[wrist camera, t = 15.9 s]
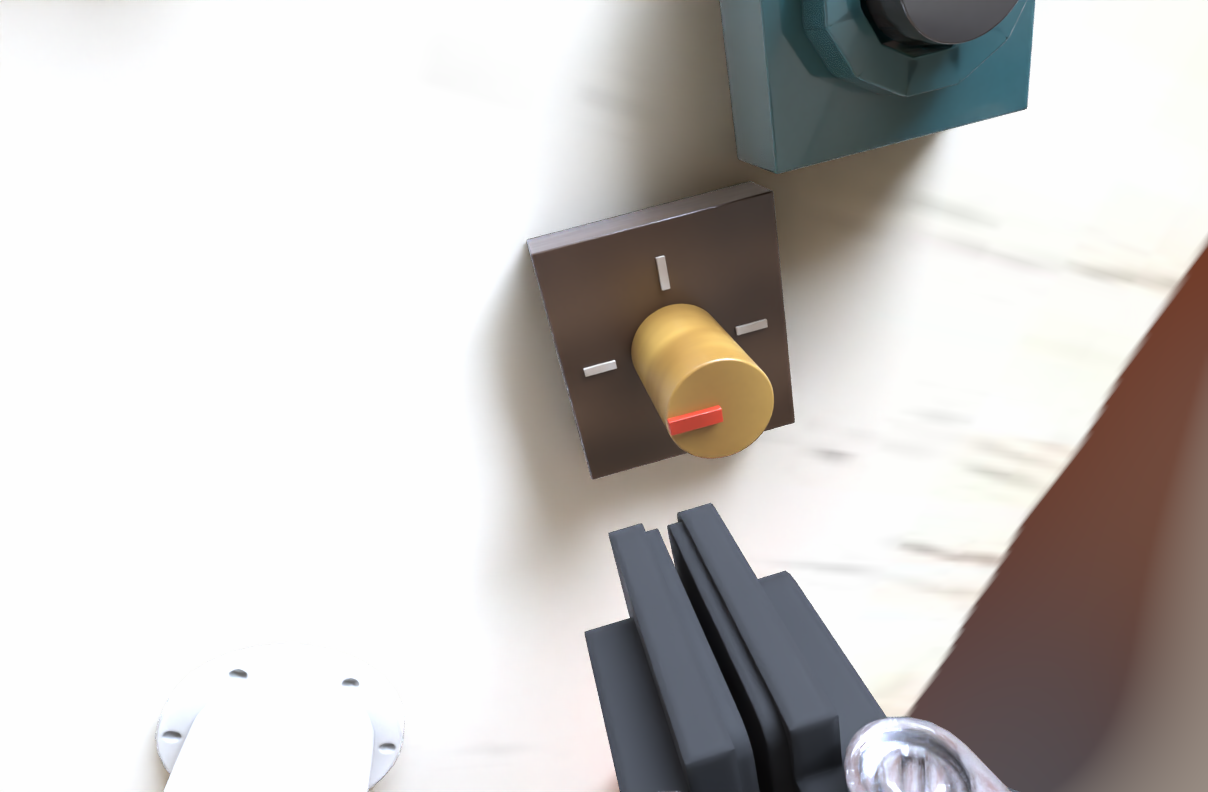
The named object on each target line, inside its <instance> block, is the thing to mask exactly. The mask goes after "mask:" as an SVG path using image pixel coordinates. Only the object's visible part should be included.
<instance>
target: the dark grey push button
mask: <svg viewBox="0 0 1208 792" xmlns="http://www.w3.org/2000/svg"><path fill="white" fill-rule="evenodd" d="M865 1H866V5H867V8H868V11H869V13H870V15H871V17H872V19H873V21H874V22H875V24H876V25H877V27H878V28H879V29H880V30H881V31H882V32H883V33H884V34H885V35H886V36H888V37H889V38H891V39H892V40H894V41H896V42H899V43H902V44H906V45H945V44H960V43H965V42H968V41H971V40H974V39H976V38H978V37H980V36H982V35H984V34H985V33H987V32H989V31H990V30H992V29H993V28H994V27H995V26H996V25H998V24H999V23H1000V22H1001V21H1002V20H1003V19H1004V18H1005V17H1006V16H1007V15H1008V14H1009V12H1010V11H1011V10H1012V9H1013V7H1014V6H1015V5H1016V3H1017V2H1018V0H865Z"/></svg>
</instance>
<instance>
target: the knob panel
mask: <svg viewBox="0 0 1208 792" xmlns="http://www.w3.org/2000/svg"><path fill="white" fill-rule="evenodd" d="M527 245H528V249H529V252H530V256H531V260H532V264H533V267H534V271H535V275H536V278H537V282H538V286H539V289H540V293H541V297H542V300H543V304H544V308H545V311H546V315H547V319H548V322H549V326H550V330H551V333H552V337H553V341H554V344H555V348H556V352H557V355H558V359H559V363H560V366H561V370H562V374H563V377H564V381H565V385H566V388H567V392H568V396H569V399H570V403H571V407H572V410H573V414H574V418H575V421H576V425H577V429H578V432H579V436H580V440H581V443H582V447H583V451H584V454H585V458H586V461H587V465H588V468H589V472H590V475H591V478H592V479H597V478H600V477H604V476H607V475H611V474H614V473H618V472H621V471H625V470H628V469H632V468H636V467H639V466H643V465H646V464H650V463H653V462H657V461H660V460H664V459H667V458H671V457H674V456H678V455H682V454H685V453H687V452H685V451H684V450H682V449H681V448H680V447H678V446H677V445H676V443H675V442H674V441H673V440H672V438H671V436H670V435H669V433H668V431H667V429H666V427H665V425H664V423H663V421H662V419H661V418H660V416H659V414H658V412H657V410H656V408H655V406H654V404H653V402H652V400H651V398H650V397H649V395H648V393H647V391H646V389H645V387H644V385H643V383H642V381H641V379H640V378H639V376H638V374H637V372H636V370H635V368H634V365H633V362H632V356H631V347H632V342H633V338H634V336H635V333H636V331H637V330H638V328H639V326H640V325H641V324H642V322H643V321H644V320H645V319H646V318H647V317H648V316H649V315H651V314H652V313H653V312H655V311H657V310H658V309H661V308H663V307H666V306H669V305H673V304H690V305H694V306H697V307H700V308H702V309H704V310H705V311H706V312H708V313H709V314H710V315H711V316H712V317H713V318H714V319H715V320H716V321H717V322H718V323H719V325H720V326H721V327H722V328H723V329H724V330H725V331H726V332H727V333H728V334H729V335H730V336H731V337H732V339H733V340H734V341H735V342H736V343H737V344H738V345H739V346H740V347H741V348H742V349H743V350H744V351H745V353H746V354H747V355H748V356H749V357H750V358H751V359H752V360H753V361H754V362H755V363H756V364H757V365H758V367H759V368H760V369H761V370H762V371H763V372H764V373H765V374H766V376H767V377H768V379H769V381H770V383H771V385H772V388H773V394H774V407H773V412H772V416H771V418H770V421H769V423H768V425H767V427H766V428H765V430H764V431H766V430H770V429H774V428H777V427H781V426H784V425H788V424H791V423H794V422H795V418H794V408H793V397H792V386H791V376H790V365H789V355H788V344H787V333H786V323H785V312H784V302H783V291H782V280H781V270H780V259H779V249H778V238H777V227H776V217H775V206H774V196H773V191H771V190H769V189H767V188H764V187H762V186H760V185H758V184H755V183H753V182H746V183H742V184H738V185H735V186H731V187H727V188H723V189H719V190H715V191H712V192H708V193H704V194H700V195H696V196H692V197H688V198H685V199H681V200H677V201H673V202H669V203H665V204H662V205H658V206H654V207H650V208H646V209H642V210H639V211H635V212H631V213H627V214H623V215H619V216H616V217H612V218H608V219H604V220H600V221H596V222H593V223H589V224H585V225H581V226H577V227H573V228H570V229H566V230H562V231H558V232H554V233H550V234H547V235H543V236H539V237H535V238H531V239H528V240H527Z"/></svg>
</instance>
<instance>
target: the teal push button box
mask: <svg viewBox="0 0 1208 792" xmlns="http://www.w3.org/2000/svg"><path fill="white" fill-rule="evenodd" d="M720 9H721V18H722V26H723V35H724V44H725V52H726V61H727V69H728V78H729V87H730V95H731V104H732V113H733V121H734V130H735V138H736V147H737V156H738V159H739V160H742V161H744V162H747V163H749V164H752V165H755V166H757V167H760V168H762V169H765V170H768V171H770V172H773V173H776V174H780V173H784V172H787V171H791V170H795V169H799V168H803V167H807V166H810V165H814V164H818V163H822V162H826V161H830V160H833V159H837V158H841V157H845V156H849V155H853V154H856V153H860V152H864V151H868V150H872V149H876V148H879V147H883V146H887V145H891V144H895V143H899V142H902V141H906V140H910V139H914V138H918V137H922V136H925V135H929V134H933V133H937V132H941V131H945V130H948V129H952V128H956V127H960V126H964V125H968V124H971V123H975V122H979V121H983V120H987V119H991V118H994V117H998V116H1002V115H1006V114H1010V113H1014V112H1017V111H1021V110H1025V109H1027V104H1028V90H1029V77H1030V64H1031V50H1032V37H1033V24H1034V11H1035V0H1018V2H1017V3H1016V5H1015V6H1014V7H1013V9H1012V10H1011V11H1010V12H1009V14H1008V15H1007V16H1006V17H1005V18H1004V19H1003V20H1002V21H1001V22H1000V23H999V24H998V25H996V26H995V27H994V28H993V29H992V30H990V31H989V32H987V33H985V34H984V35H982V36H980V37H978V38H976V39H974V40H971V41H968V42H965V43H960V44H945V45H906V44H902V43H899V42H896V41H894V40H892V39H891V38H889V37H888V36H886V35H885V34H884V33H883V32H882V31H881V30H880V29H879V28H878V27H877V25H876V24H875V22H874V21H873V19H872V17H871V15H870V13H869V11H868V8H867V5H866V1H865V0H720Z"/></svg>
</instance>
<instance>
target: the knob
mask: <svg viewBox="0 0 1208 792" xmlns="http://www.w3.org/2000/svg"><path fill="white" fill-rule="evenodd" d="M631 356H632V362H633V365H634V368H635V370H636V372H637V374H638V376H639V378H640V379H641V381H642V383H643V385H644V387H645V389H646V391H647V393H648V395H649V397H650V398H651V400H652V402H653V404H654V406H655V408H656V410H657V412H658V414H659V416H660V418H661V419H662V421H663V423H664V425H665V427H666V429H667V431H668V433H669V435H670V436H671V438H672V440H673V441H674V442H675V443H676V445H677V446H678V447H680V448H681V449H682V450H684V451H685V452H687V453H689V454H691V455H694V456H697V457H701V458H713V459H714V458H722V457H727V456H730V455H733V454H735V453H738V452H740V451H742V450H743V449H745V448H747V447H748V446H749V445H751V444H752V443H753V442H754V441H755V440H756V439H757V438H758V437H759V436H760V435H761V434H762V433H763V431H764V430H765V428H766V427H767V425H768V423H769V421H770V418H771V416H772V412H773V407H774V394H773V388H772V385H771V383H770V381H769V379H768V377H767V376H766V374H765V373H764V372H763V371H762V370H761V369H760V368H759V367H758V365H757V364H756V363H755V362H754V361H753V360H752V359H751V358H750V357H749V356H748V355H747V354H746V353H745V351H744V350H743V349H742V348H741V347H740V346H739V345H738V344H737V343H736V342H735V341H734V340H733V339H732V337H731V336H730V335H729V334H728V333H727V332H726V331H725V330H724V329H723V328H722V327H721V326H720V325H719V323H718V322H717V321H716V320H715V319H714V318H713V317H712V316H711V315H710V314H709V313H708V312H706V311H705V310H704V309H702V308H700V307H697V306H694V305H690V304H673V305H669V306H666V307H663V308H661V309H658V310H657V311H655V312H653V313H652V314H651V315H649V316H648V317H647V318H646V319H645V320H644V321H643V322H642V324H641V325H640V326H639V328H638V330H637V331H636V333H635V336H634V338H633V342H632V347H631Z"/></svg>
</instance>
